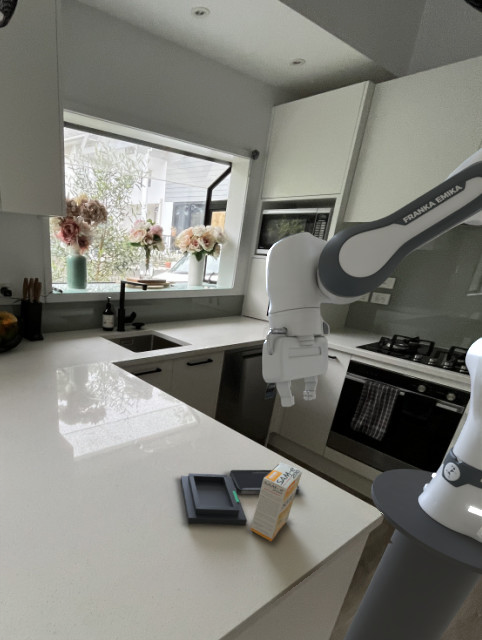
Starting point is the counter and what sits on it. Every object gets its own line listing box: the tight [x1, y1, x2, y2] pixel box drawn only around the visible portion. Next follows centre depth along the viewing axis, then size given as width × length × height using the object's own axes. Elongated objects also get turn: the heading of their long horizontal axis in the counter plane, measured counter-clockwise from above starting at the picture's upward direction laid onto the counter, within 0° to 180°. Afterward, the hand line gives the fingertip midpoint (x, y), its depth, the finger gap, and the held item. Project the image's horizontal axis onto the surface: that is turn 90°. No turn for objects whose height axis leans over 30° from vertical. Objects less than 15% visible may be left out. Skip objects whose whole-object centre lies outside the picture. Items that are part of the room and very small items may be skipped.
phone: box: [228, 469, 300, 495], centre depth 90 cm, size 8×1×15 cm
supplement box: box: [250, 461, 303, 542], centre depth 75 cm, size 8×5×13 cm, turn 139°
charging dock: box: [180, 472, 248, 526], centre depth 83 cm, size 12×14×3 cm
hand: (299, 403), depth 70 cm, fingers open, 8 cm apart
